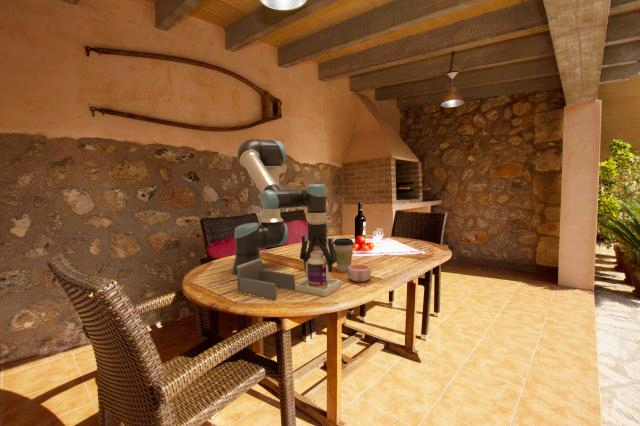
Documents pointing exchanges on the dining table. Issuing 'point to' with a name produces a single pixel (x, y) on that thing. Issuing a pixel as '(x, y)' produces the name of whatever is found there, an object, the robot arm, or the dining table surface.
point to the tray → (304, 288)
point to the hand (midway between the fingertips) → (318, 278)
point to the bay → (262, 280)
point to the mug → (359, 272)
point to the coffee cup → (343, 253)
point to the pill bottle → (317, 270)
